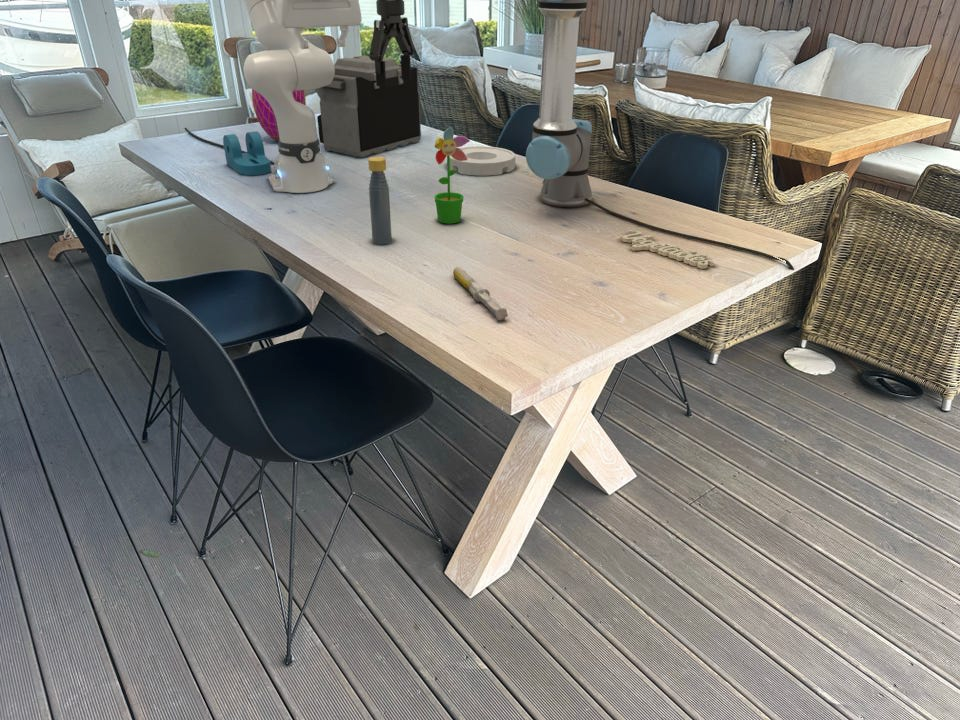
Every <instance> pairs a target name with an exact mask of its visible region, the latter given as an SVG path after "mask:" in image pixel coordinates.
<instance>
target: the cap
mask: <svg viewBox="0 0 960 720" xmlns="http://www.w3.org/2000/svg"><path fill="white" fill-rule="evenodd" d="M367 161H368V163H367V164H368V170H369V171H371V172H372V171H384V172H385V171H387V160H386V157H384V156H372V157H371V156H370V157H368V159H367Z"/></svg>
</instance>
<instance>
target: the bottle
mask: <svg viewBox="0 0 960 720" xmlns="http://www.w3.org/2000/svg"><path fill="white" fill-rule="evenodd" d="M368 196H369V209H370V211H369V212H370V223H371V239H372V244H374V245H379V246H384V245H385V246H386V245H390V244H391V243H392V242H393V237H392V222H391V221H392V220H391V219H392V218H391V203H390V187H389V183H388V180H387V177H386V173H385V170H384V171H371V173H370V177H369V184H368Z"/></svg>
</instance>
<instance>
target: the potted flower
mask: <svg viewBox="0 0 960 720" xmlns="http://www.w3.org/2000/svg"><path fill="white" fill-rule="evenodd" d="M454 135H455V131H454V128H453V127H452V126H449V127H447V128H446V129H445V130H444V131H443V138H442V137H437V139H436V141H435V143H434V148H435V149H436V150H438V151H437V152H436V153H435V161H436V163H437V164H438V165H442V163H443V162H444V161H445V160H446V159H447V160H446V167H447V168H446V169H447V171H446V172H447V173H446V174H447V177H446V176H442V177H440V178H438V183H440V184H441V185H447V191H445V192H438V193H437V194H435V195H434V196H433V198H434V199H433V200H434V202H435V208H436V214H437V221H438V222H439V223H441V224H445V225H446V224H449V225H450V224H451V225H452V224H456V223H459V222H461V218H462V208H463V202H464V195H463V194H462V193H459V192H455V191H454V192H453V191H452V192H451V177H452V176H454V175H455V174H456V173H457V171H456V170H450V156H452V157H453V158H454V159H456V160H458V161H464V160H467V157H466V155H465V154H464V152H463V151H462V150H460V149H459V148H462V147H463V146H465V145H467V143H470V142H471V140H470V139H469V138H468V137H467V136H464V135H457V136H454Z"/></svg>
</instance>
